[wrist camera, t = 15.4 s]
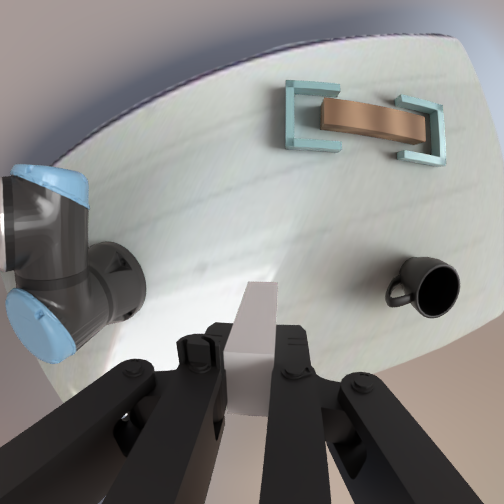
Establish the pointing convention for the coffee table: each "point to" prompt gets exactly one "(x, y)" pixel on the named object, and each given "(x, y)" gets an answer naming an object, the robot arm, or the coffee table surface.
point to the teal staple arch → (292, 89)
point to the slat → (372, 121)
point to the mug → (426, 286)
